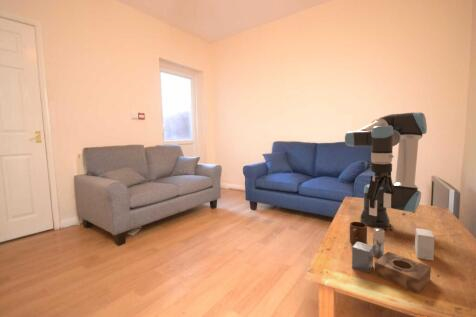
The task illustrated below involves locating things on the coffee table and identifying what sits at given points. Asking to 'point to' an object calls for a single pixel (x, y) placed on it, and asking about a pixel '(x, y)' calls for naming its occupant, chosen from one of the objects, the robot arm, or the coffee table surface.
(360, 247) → the square block
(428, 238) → the small box
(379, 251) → the round peg
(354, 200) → the coffee table surface
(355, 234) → the mug
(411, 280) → the socket block
